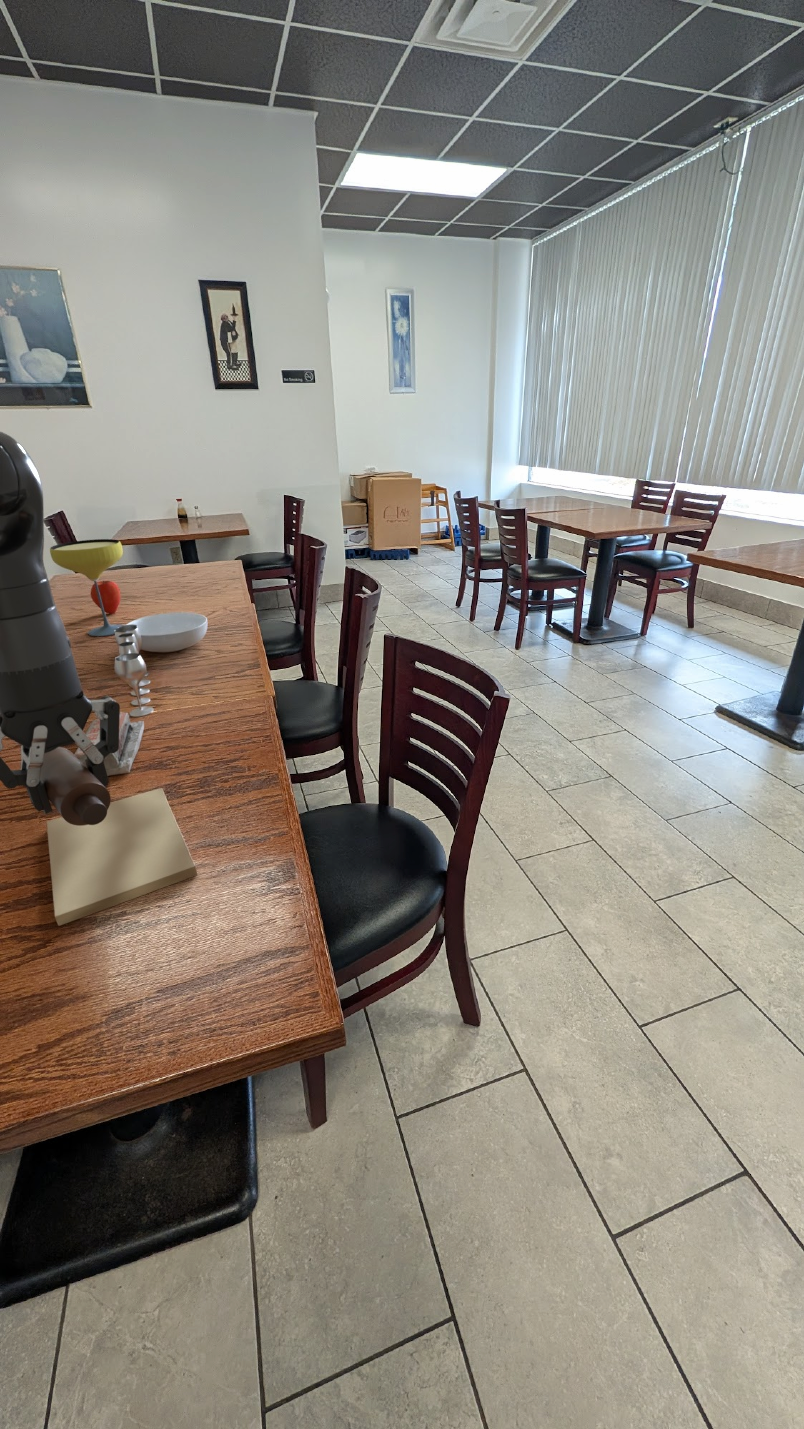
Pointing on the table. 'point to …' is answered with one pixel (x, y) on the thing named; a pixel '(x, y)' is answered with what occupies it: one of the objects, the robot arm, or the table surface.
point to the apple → (107, 595)
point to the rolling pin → (74, 788)
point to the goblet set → (132, 666)
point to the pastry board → (116, 856)
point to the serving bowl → (170, 631)
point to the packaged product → (127, 745)
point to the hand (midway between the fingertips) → (73, 799)
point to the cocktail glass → (90, 566)
